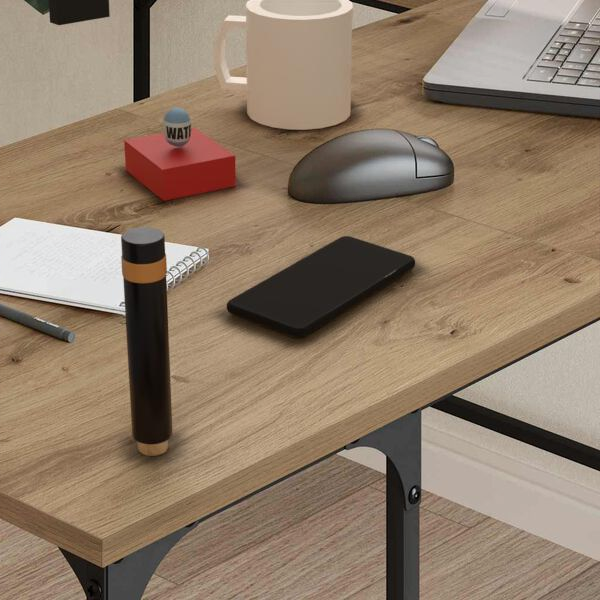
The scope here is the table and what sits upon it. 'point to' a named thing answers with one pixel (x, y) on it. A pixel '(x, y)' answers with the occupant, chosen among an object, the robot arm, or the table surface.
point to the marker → (147, 337)
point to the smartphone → (320, 286)
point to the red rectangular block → (179, 160)
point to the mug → (293, 62)
